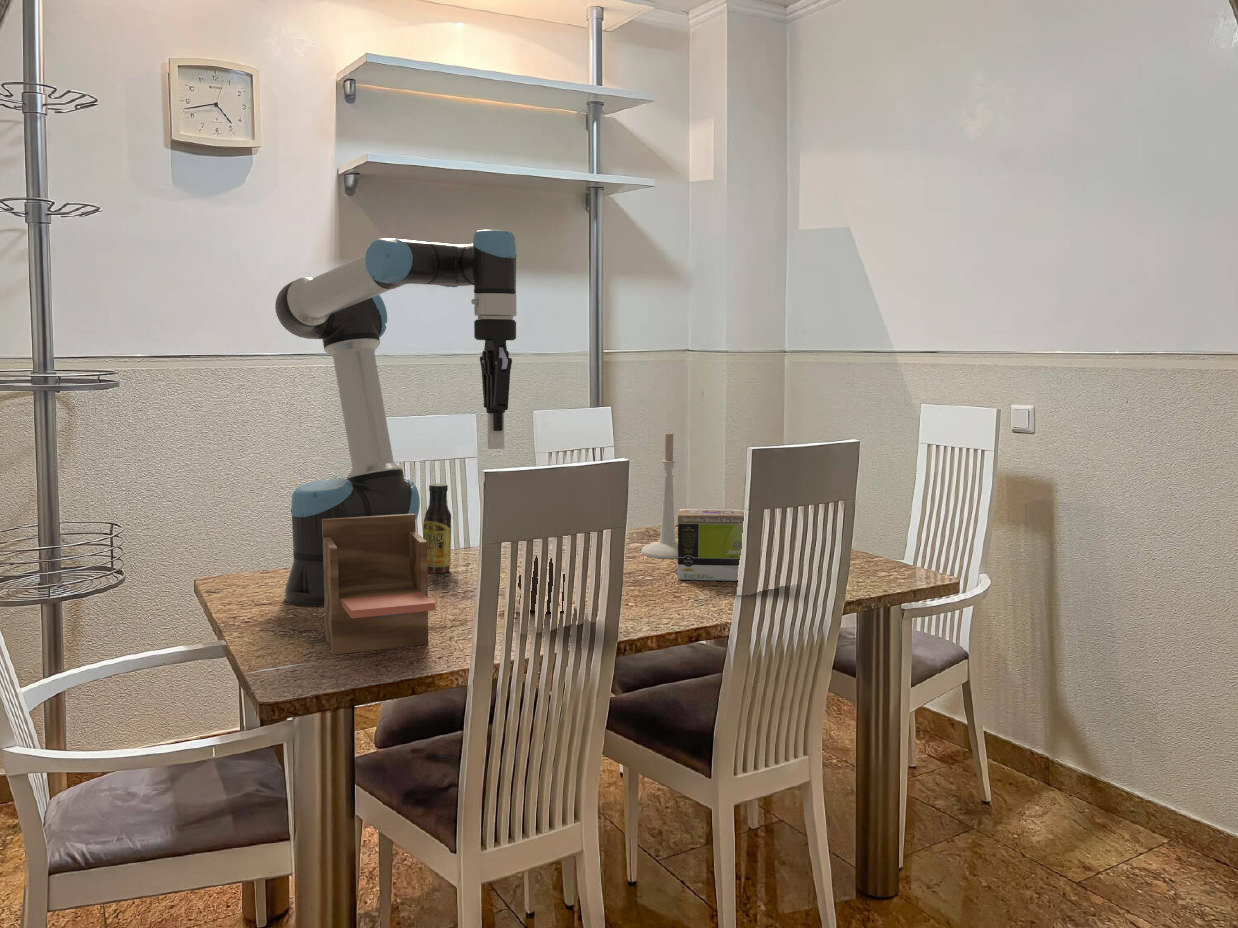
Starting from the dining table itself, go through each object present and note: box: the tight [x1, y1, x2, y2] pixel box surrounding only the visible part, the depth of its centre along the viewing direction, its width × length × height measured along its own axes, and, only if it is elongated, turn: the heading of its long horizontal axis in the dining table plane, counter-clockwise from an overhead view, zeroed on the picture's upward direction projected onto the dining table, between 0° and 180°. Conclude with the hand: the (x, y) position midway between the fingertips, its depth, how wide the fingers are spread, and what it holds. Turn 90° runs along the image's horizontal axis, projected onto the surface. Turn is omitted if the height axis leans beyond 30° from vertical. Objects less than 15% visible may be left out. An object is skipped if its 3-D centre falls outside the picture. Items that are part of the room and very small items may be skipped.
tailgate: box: [339, 592, 437, 618], centre depth 164 cm, size 2×14×13 cm
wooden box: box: [322, 514, 430, 655], centre depth 175 cm, size 11×16×21 cm
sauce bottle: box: [422, 482, 452, 575], centre depth 226 cm, size 7×6×20 cm
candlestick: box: [640, 432, 678, 560], centre depth 247 cm, size 13×13×30 cm
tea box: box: [677, 507, 744, 582], centre depth 225 cm, size 15×10×15 cm, turn 84°
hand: (495, 448), depth 185 cm, fingers closed
